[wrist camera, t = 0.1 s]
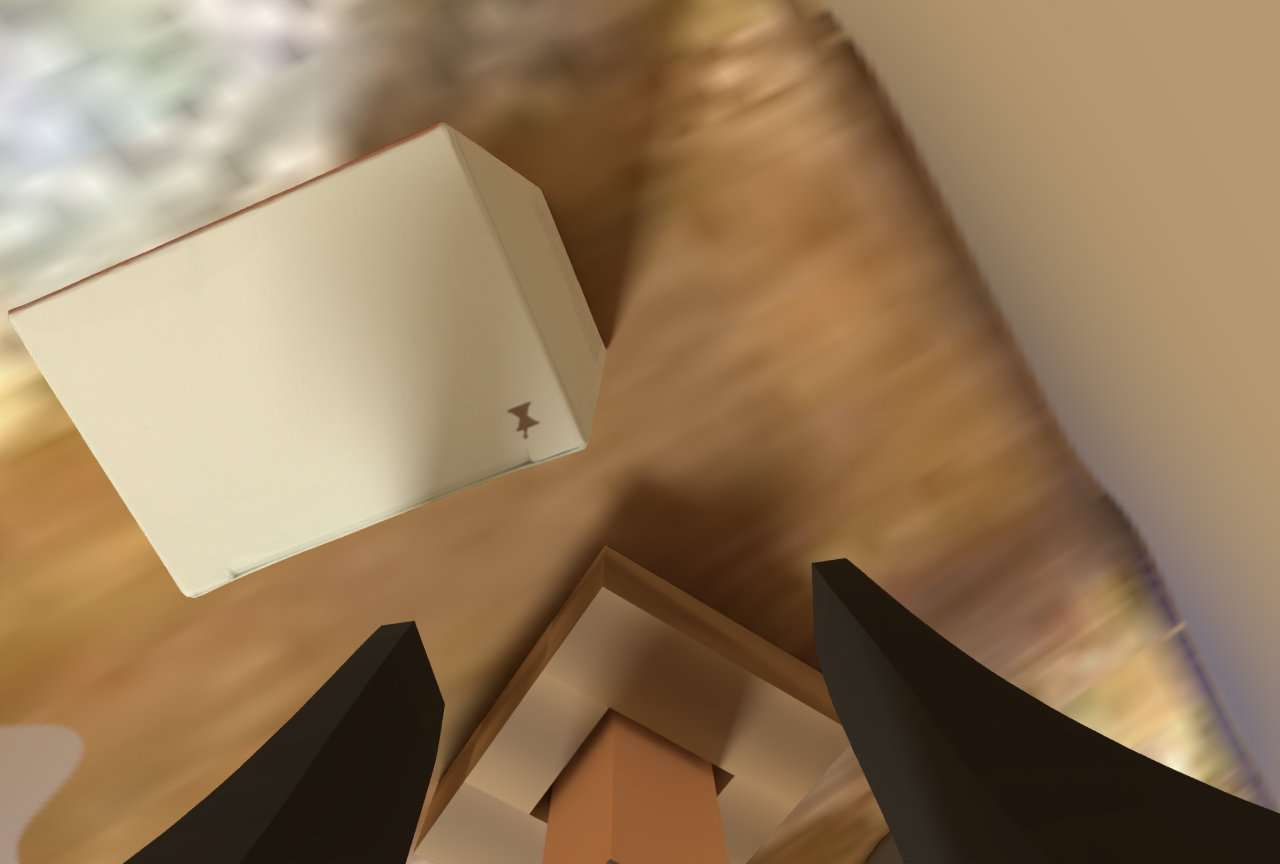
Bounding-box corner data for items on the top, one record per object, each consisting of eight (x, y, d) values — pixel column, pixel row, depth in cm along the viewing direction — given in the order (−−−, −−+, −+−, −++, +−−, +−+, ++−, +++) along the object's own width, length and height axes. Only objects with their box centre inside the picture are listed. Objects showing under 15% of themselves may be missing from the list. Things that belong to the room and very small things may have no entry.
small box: (543, 186, 20) (456, 105, 9) (611, 357, 21) (600, 448, 11) (305, 283, 20) (-19, 307, 10) (387, 444, 22) (177, 609, 11)
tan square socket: (651, 891, 27) (655, 968, 24) (437, 784, 25) (413, 853, 22) (829, 677, 24) (857, 734, 21) (605, 544, 23) (602, 586, 20)
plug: (645, 793, 25) (656, 1062, 17) (554, 745, 25) (518, 1000, 16) (706, 716, 25) (751, 958, 16) (614, 665, 24) (609, 888, 15)
